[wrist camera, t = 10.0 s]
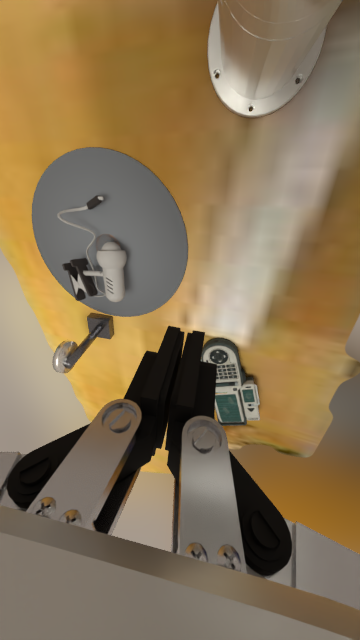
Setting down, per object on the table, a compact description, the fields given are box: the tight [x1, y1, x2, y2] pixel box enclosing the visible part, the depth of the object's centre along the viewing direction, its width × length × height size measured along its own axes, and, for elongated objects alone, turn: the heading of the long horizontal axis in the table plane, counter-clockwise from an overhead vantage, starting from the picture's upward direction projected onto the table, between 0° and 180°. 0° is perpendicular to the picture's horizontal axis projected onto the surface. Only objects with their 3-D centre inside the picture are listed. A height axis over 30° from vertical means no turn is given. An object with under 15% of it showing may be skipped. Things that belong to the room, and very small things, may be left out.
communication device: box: [201, 338, 260, 426], centre depth 51 cm, size 12×24×9 cm, turn 16°
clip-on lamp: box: [58, 195, 127, 302], centre depth 41 cm, size 12×6×18 cm
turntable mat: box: [32, 148, 188, 317], centre depth 42 cm, size 30×30×1 cm
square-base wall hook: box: [53, 313, 114, 373], centre depth 46 cm, size 6×5×15 cm
